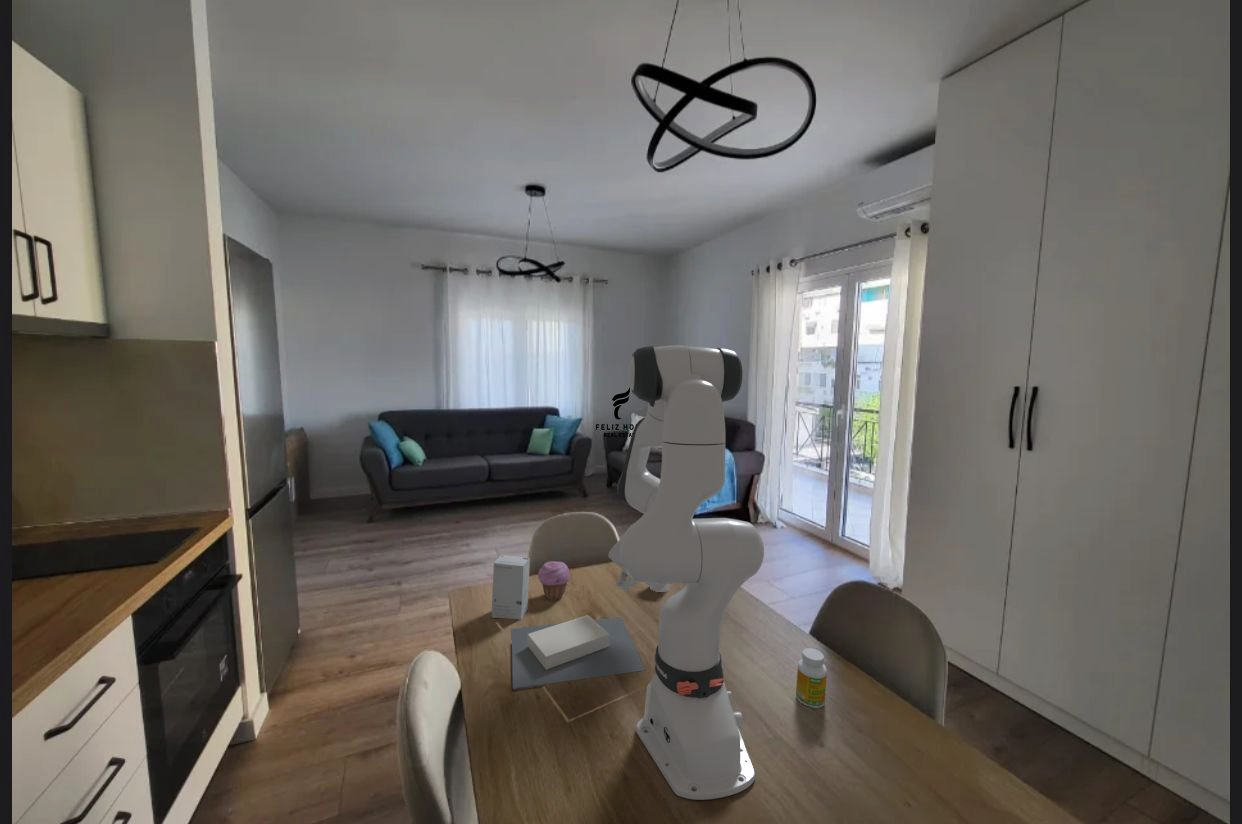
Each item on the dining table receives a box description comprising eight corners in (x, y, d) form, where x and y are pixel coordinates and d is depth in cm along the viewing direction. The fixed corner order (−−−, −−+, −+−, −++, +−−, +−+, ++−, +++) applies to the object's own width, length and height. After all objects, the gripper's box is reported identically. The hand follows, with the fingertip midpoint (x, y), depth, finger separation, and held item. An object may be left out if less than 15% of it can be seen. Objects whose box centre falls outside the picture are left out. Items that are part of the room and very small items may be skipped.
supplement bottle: (807, 711, 92) (810, 664, 91) (790, 692, 98) (793, 648, 97) (830, 706, 94) (834, 660, 93) (812, 688, 99) (815, 644, 98)
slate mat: (645, 671, 103) (645, 670, 103) (512, 690, 97) (512, 688, 97) (621, 618, 124) (621, 616, 124) (511, 630, 118) (511, 628, 118)
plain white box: (588, 614, 119) (527, 633, 110) (609, 634, 111) (546, 656, 102) (587, 626, 119) (527, 647, 111) (609, 647, 111) (545, 670, 102)
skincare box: (491, 618, 123) (490, 563, 121) (499, 606, 129) (499, 553, 127) (522, 621, 122) (522, 565, 121) (530, 609, 128) (530, 555, 127)
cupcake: (534, 592, 137) (534, 559, 136) (562, 586, 141) (563, 554, 140) (544, 607, 129) (544, 571, 128) (574, 600, 133) (574, 566, 132)
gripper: (623, 523, 129) (591, 566, 125) (671, 549, 112) (637, 599, 108) (636, 536, 132) (605, 578, 128) (685, 563, 115) (652, 612, 111)
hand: (620, 588), depth 118 cm, fingers closed
